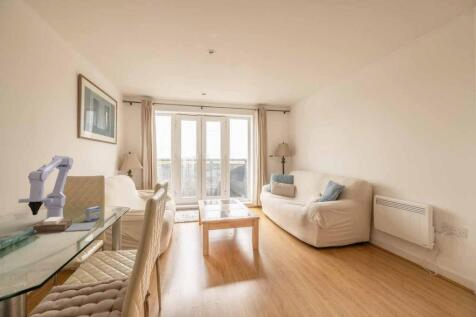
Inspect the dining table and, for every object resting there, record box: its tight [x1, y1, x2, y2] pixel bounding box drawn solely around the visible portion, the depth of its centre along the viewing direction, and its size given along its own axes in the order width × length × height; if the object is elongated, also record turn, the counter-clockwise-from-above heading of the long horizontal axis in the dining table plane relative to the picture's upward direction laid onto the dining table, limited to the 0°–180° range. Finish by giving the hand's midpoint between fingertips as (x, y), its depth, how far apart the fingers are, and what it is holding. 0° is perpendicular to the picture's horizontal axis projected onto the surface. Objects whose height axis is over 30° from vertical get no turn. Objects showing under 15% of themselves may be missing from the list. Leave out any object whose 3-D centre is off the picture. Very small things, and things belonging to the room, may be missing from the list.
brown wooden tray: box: [32, 218, 73, 234], centre depth 121 cm, size 12×14×4 cm
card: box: [42, 216, 63, 225], centre depth 121 cm, size 9×6×2 cm, turn 24°
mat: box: [64, 221, 97, 233], centre depth 127 cm, size 14×12×1 cm
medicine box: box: [84, 205, 101, 222], centre depth 143 cm, size 8×4×9 cm, turn 168°
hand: (35, 214), depth 118 cm, fingers closed
